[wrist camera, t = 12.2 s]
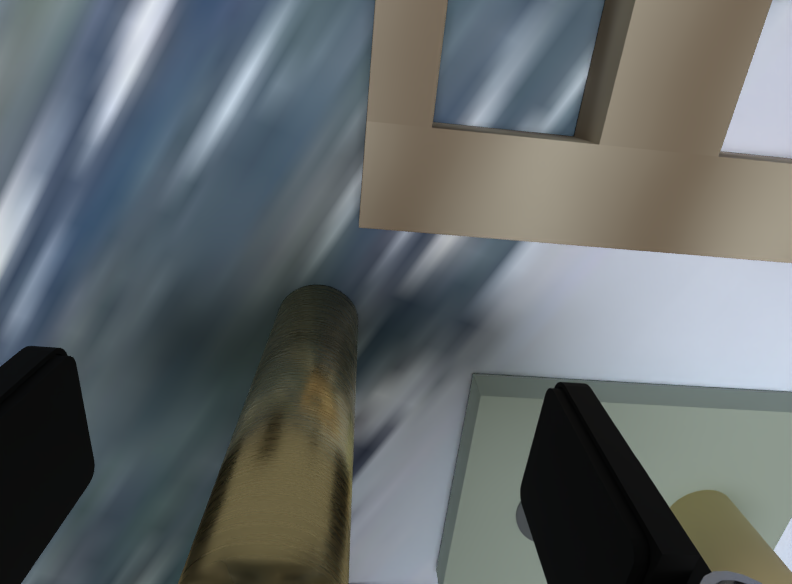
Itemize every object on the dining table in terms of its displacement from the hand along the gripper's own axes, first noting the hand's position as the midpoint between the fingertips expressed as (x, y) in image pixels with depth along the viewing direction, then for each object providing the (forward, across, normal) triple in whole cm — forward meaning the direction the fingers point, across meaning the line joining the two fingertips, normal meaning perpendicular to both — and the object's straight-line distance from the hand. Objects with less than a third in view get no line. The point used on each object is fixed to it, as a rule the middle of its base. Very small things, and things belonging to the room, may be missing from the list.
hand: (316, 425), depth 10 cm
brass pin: (+5, 0, 0) cm, 5 cm away
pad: (+5, -10, +6) cm, 13 cm away
